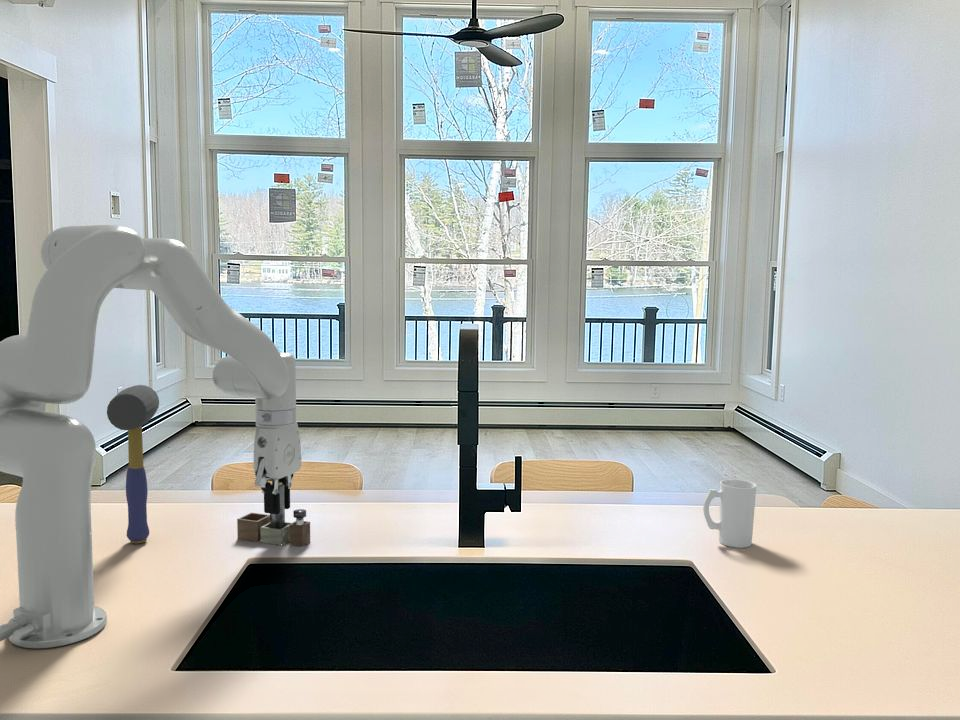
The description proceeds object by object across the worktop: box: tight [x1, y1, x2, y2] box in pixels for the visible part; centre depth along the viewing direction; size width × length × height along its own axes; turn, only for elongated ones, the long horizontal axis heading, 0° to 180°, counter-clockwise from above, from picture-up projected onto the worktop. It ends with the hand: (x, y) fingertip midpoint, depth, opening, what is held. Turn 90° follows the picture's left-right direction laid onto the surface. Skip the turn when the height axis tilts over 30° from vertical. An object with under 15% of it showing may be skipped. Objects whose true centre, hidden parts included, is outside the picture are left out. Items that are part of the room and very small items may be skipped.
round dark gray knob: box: [292, 508, 307, 525], centre depth 153 cm, size 2×2×6 cm
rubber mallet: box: [106, 384, 160, 544], centre depth 151 cm, size 12×8×30 cm, turn 11°
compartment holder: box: [236, 512, 311, 547], centre depth 155 cm, size 5×14×4 cm, turn 71°
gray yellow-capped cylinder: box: [269, 481, 286, 529], centre depth 154 cm, size 3×3×11 cm
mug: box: [703, 478, 757, 549], centre depth 157 cm, size 10×7×12 cm, turn 92°
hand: (277, 509), depth 154 cm, fingers closed on gray yellow-capped cylinder, 2 cm apart
